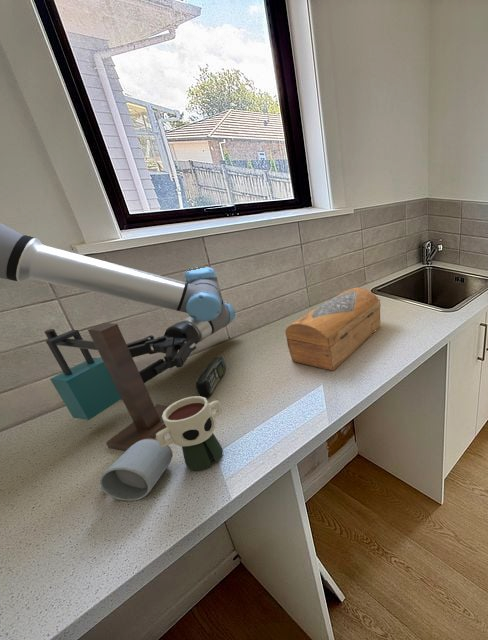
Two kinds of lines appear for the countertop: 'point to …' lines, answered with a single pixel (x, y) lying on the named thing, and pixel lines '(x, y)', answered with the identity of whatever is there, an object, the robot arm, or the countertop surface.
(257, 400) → the countertop surface
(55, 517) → the countertop surface
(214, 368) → the mobile phone
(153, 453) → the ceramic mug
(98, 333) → the hook stand
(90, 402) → the teal handbag
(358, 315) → the wooden box
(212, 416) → the character mug
